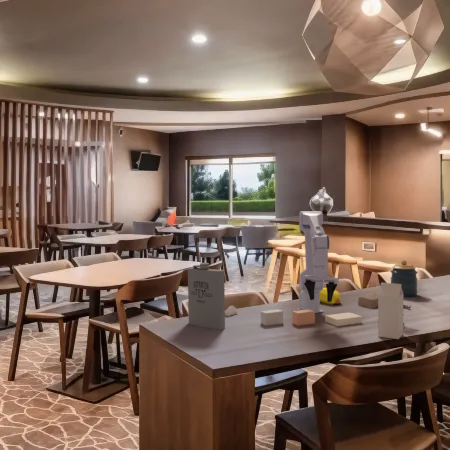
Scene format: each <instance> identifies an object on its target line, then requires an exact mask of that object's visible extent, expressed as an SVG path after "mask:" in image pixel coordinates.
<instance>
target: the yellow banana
mask: <svg viewBox="0 0 450 450" xmlns="http://www.w3.org/2000/svg"><path fill="white" fill-rule="evenodd" d="M341 301H342V300H341V293H340V292H339V291H338V290H336V289H335V291H334V293H333V297H332V301H331V302H328V301H327V288H326V287H323V289H322V290H321V292H320V303H325V304H328V305H330V306H331V305H332V306H333V305H334V304H335V305H339V304H341V303H342V302H341Z"/></svg>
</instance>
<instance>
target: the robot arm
mask: <svg viewBox="0 0 450 450" xmlns="http://www.w3.org/2000/svg"><path fill="white" fill-rule="evenodd" d="M323 213H324V212H322V211H321V210H318V211H309V210H307V211H306V210H305V211H302V210H301V211H300V212H299V214H298V217H299V218H298V221H299V222H298V224H299V226H298V227H299V231H300V232H303V234H304V235H303V236H304V246H305V248H304V249H305V251H304V252H305V269H304V270H302V271H301V272H300V274H299V289H300V290H301V291H300V292H299V294H298V308H296V309H297V310H296V311H299V310H308V309H310V310H313V311H315V314H317V313H324V312H325V310H323V309H321V306H320V305H321V302H320V292H321V290H322V289H323V288H324V283H326V284H325V288H327V301H328V302H331V301H332V297H333V293H334V291H335V290H336V289H337V287H338V284H340V283H339V281H340V278H339V277H332V276H331V277H330V276H329V258H328V257H329V254H328V253H329V249H330V236H329V234H326V232H325V230H324V228H323V226H322V225H323V223H324V214H323Z"/></svg>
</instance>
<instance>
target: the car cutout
mask: <svg viewBox="0 0 450 450" xmlns="http://www.w3.org/2000/svg"><path fill="white" fill-rule="evenodd" d="M232 315H233V316H234V315H236V316H237V315H238V311H237V307H235V306H234V305H229V306H228V307H227V308H226V309H225V317H231V316H232Z"/></svg>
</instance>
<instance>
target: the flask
mask: <svg viewBox="0 0 450 450" xmlns="http://www.w3.org/2000/svg"><path fill="white" fill-rule="evenodd" d="M209 267H210V263H209V262H200V263H199V264H196V265H192V267H191V266H190V267H188V268H187V299H188V300H187V301H188V302H187V307H188V324H189V325H192V326H195V325H196V327H200V328H206V329H212V330H213V329H214V330H224V329H225V328H226V315H225V313H226V307H225V306H226V304H225V301H226V300H225V299H226V297H225V295H226V294H225V292H226V291H225V270H224V269H214V268H213V269H211V268H209Z"/></svg>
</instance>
